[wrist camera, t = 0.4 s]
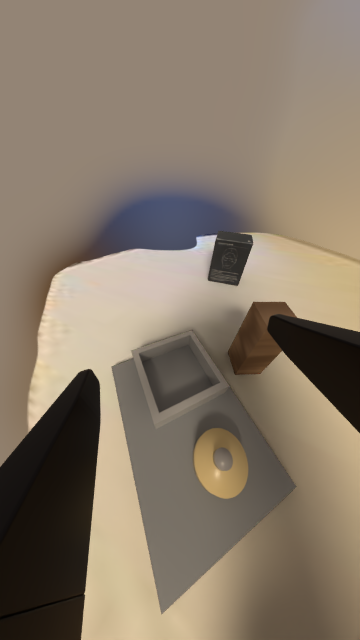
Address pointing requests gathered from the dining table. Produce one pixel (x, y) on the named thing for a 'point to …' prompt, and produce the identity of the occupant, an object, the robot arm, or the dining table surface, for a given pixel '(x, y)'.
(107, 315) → the dining table surface
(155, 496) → the housing
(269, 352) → the wooden block
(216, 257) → the box
